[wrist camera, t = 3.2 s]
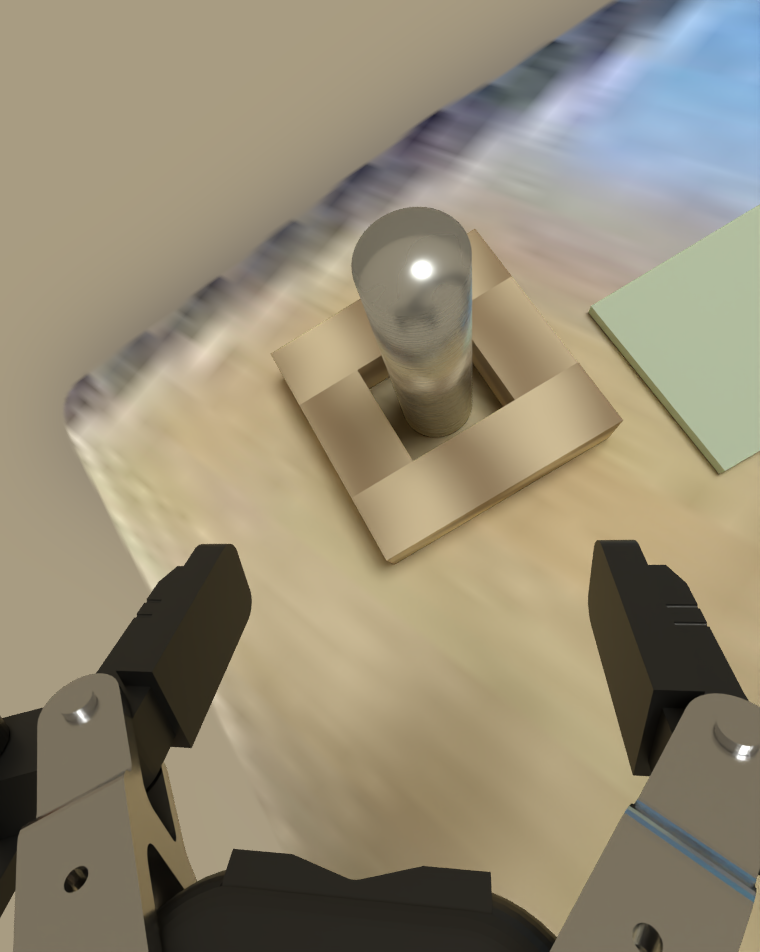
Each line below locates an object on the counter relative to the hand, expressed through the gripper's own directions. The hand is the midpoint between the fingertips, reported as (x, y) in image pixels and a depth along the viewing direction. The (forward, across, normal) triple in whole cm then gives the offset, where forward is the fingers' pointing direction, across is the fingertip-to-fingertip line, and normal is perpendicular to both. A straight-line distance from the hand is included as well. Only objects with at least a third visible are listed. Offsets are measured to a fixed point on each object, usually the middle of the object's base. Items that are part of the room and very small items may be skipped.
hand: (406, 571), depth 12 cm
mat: (+18, -15, +1) cm, 23 cm away
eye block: (+16, 0, +3) cm, 17 cm away
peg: (+16, 0, +3) cm, 17 cm away
